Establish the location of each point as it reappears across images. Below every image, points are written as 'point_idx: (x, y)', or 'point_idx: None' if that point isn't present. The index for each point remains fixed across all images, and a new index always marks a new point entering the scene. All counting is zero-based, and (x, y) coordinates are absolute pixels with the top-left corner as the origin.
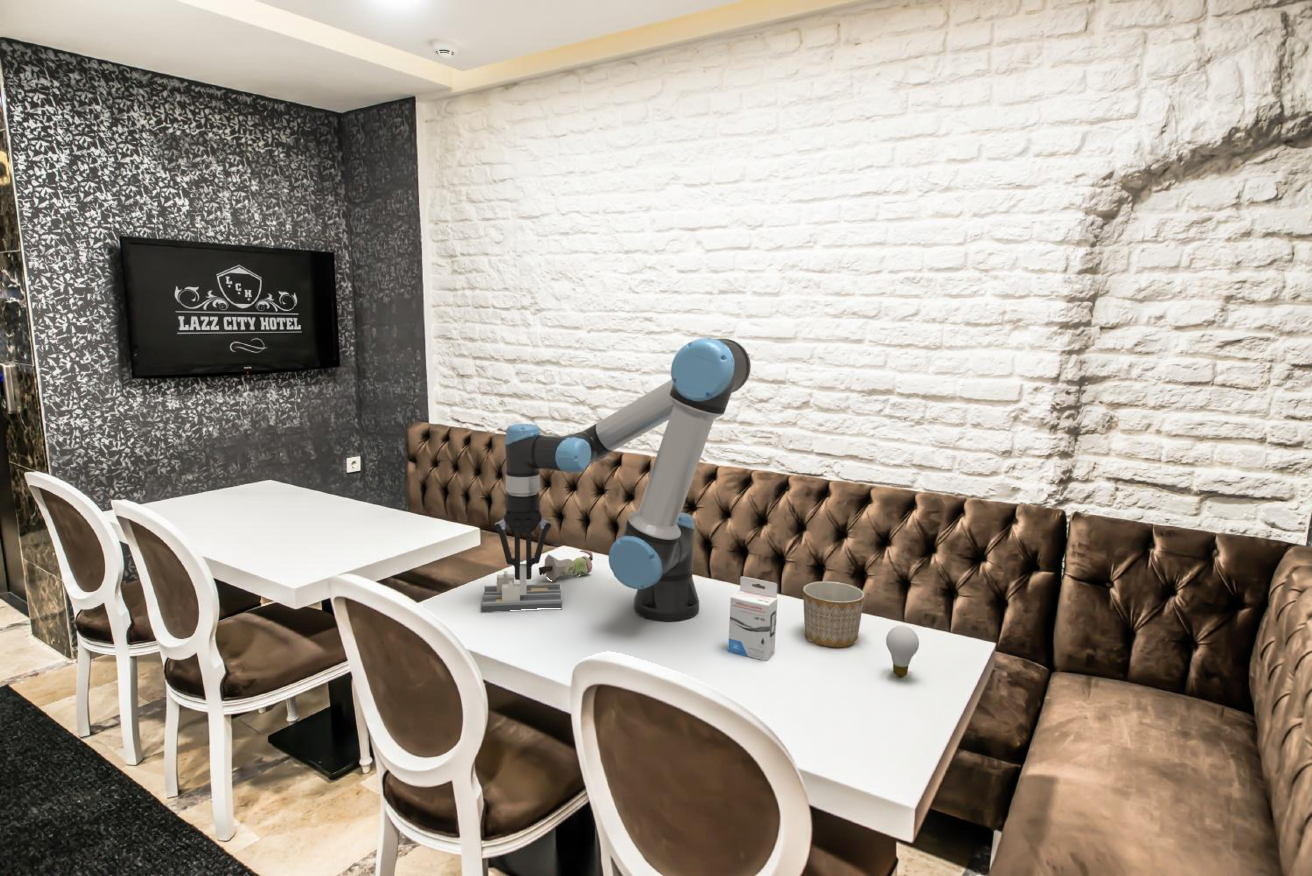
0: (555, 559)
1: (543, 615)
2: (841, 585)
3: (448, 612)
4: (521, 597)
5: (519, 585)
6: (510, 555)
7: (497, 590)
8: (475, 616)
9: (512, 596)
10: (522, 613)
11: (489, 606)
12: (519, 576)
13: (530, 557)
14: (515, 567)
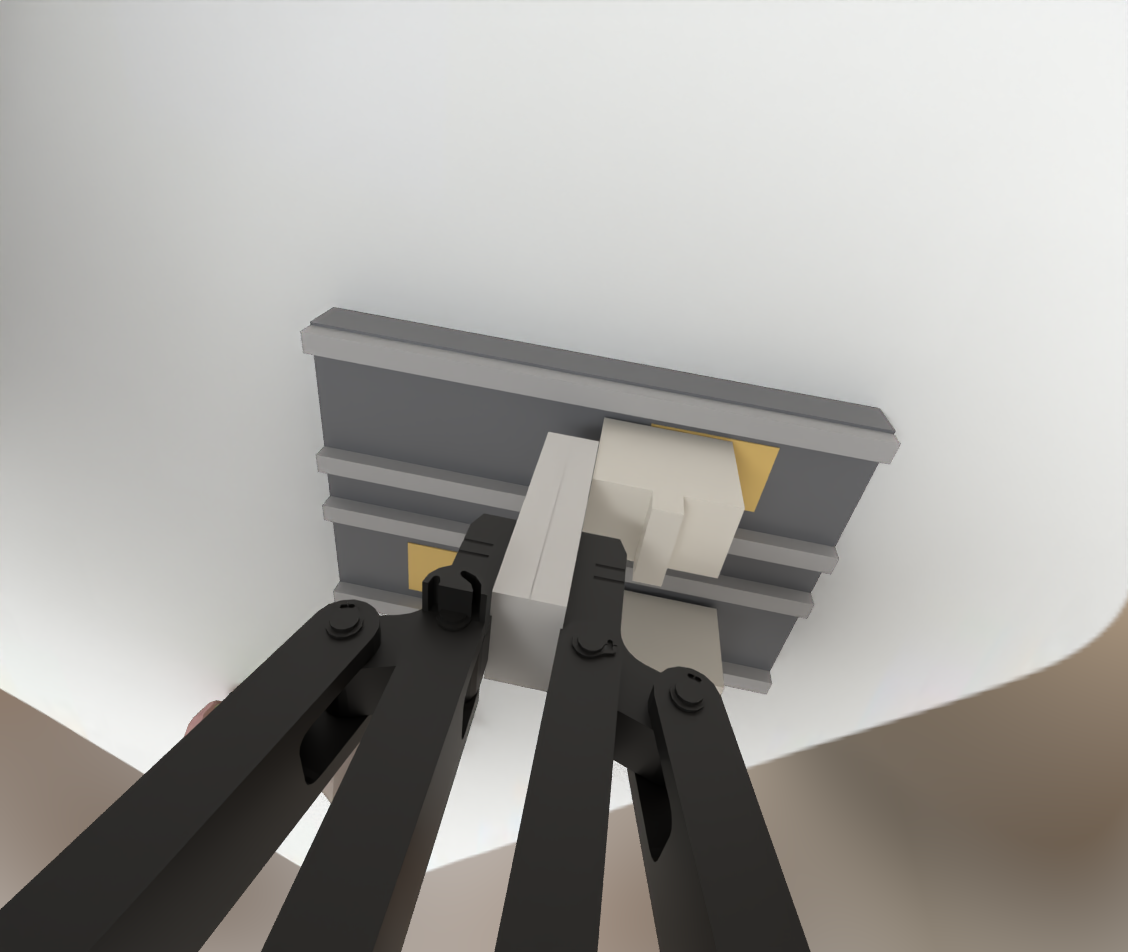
0: (326, 790)
1: (460, 229)
2: None
3: (1098, 477)
4: None
5: (588, 516)
6: (667, 783)
7: (712, 616)
8: (951, 352)
9: (655, 450)
10: (604, 313)
11: (835, 417)
12: (580, 554)
13: (402, 683)
14: (611, 632)
